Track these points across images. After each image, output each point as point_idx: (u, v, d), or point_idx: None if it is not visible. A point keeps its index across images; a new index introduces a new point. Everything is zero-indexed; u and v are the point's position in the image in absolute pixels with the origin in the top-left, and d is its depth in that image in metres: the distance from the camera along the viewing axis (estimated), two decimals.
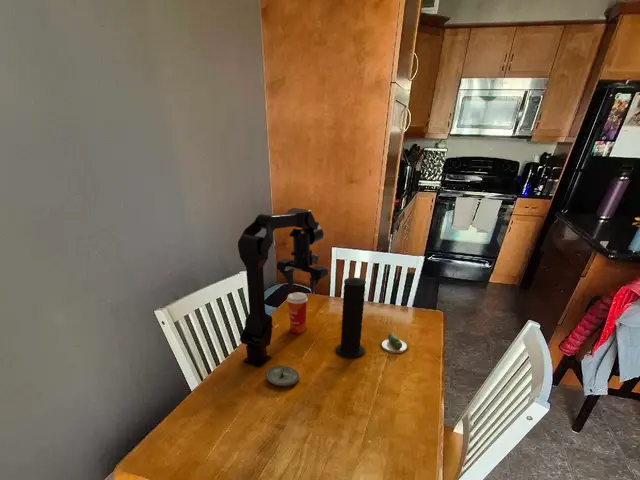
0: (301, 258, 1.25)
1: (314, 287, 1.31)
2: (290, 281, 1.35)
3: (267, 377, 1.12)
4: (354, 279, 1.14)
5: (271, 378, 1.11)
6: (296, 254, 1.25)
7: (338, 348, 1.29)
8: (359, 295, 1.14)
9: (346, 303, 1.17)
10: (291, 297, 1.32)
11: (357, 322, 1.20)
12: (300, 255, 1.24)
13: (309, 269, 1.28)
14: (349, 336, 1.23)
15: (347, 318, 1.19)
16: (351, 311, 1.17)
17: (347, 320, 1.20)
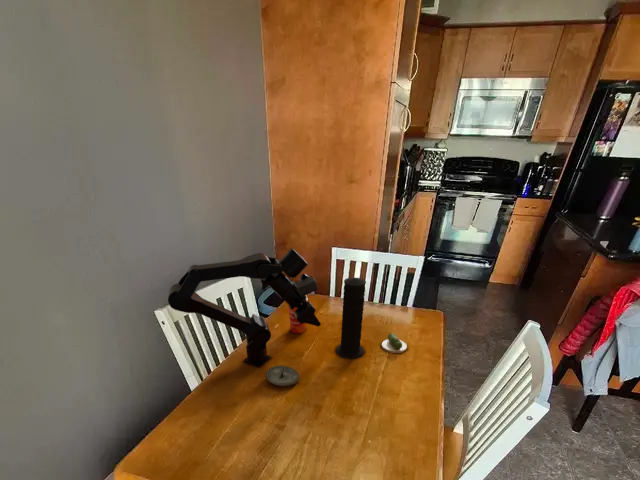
0: (285, 301, 1.13)
1: (313, 322, 1.15)
2: None
3: (267, 377, 1.12)
4: (354, 279, 1.14)
5: (271, 378, 1.11)
6: None
7: (338, 348, 1.29)
8: (359, 295, 1.14)
9: (346, 303, 1.17)
10: None
11: (357, 322, 1.20)
12: None
13: (299, 307, 1.13)
14: (349, 336, 1.23)
15: (347, 318, 1.19)
16: (351, 311, 1.17)
17: (347, 320, 1.20)
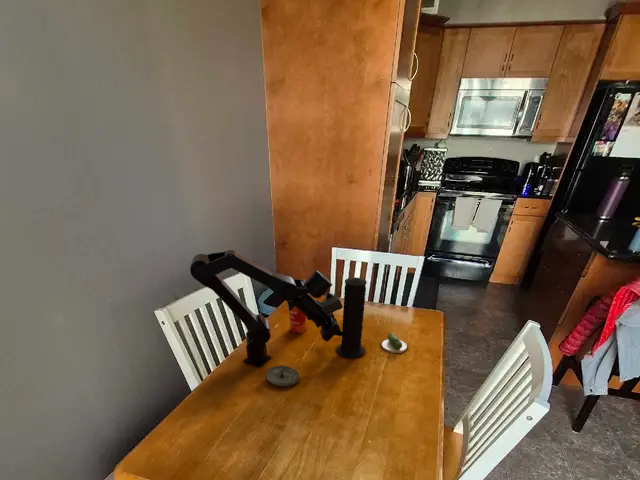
0: (311, 319, 1.18)
1: (336, 332, 1.22)
2: None
3: (267, 377, 1.12)
4: (355, 279, 1.14)
5: (271, 378, 1.11)
6: None
7: (339, 348, 1.29)
8: (360, 295, 1.14)
9: (347, 303, 1.17)
10: None
11: (358, 322, 1.20)
12: None
13: None
14: (350, 336, 1.23)
15: (348, 318, 1.19)
16: (352, 311, 1.17)
17: (348, 320, 1.20)
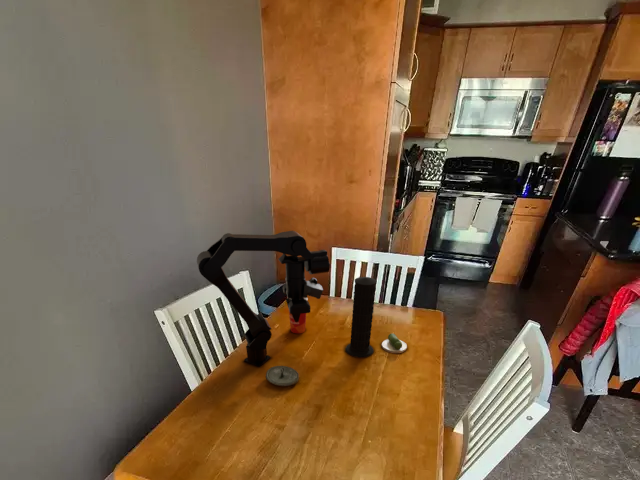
0: (288, 286, 1.12)
1: (295, 315, 1.18)
2: None
3: (267, 377, 1.12)
4: (365, 278, 1.14)
5: (271, 378, 1.11)
6: (286, 280, 1.12)
7: (347, 347, 1.30)
8: (370, 294, 1.15)
9: (356, 302, 1.17)
10: None
11: (367, 321, 1.20)
12: (286, 282, 1.11)
13: None
14: (359, 335, 1.23)
15: (357, 317, 1.20)
16: (361, 310, 1.18)
17: (357, 319, 1.20)
